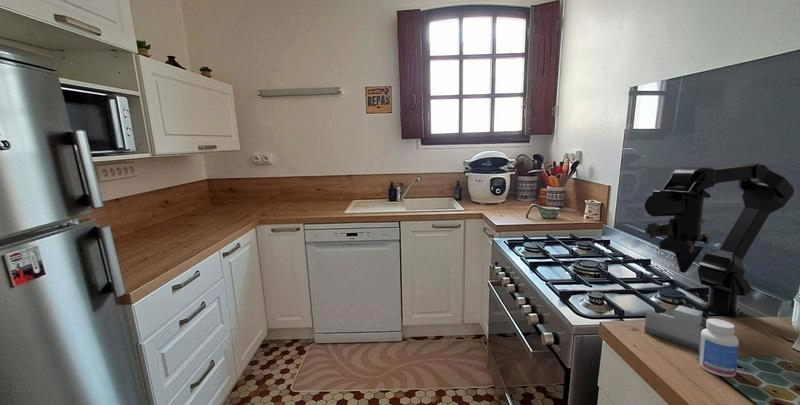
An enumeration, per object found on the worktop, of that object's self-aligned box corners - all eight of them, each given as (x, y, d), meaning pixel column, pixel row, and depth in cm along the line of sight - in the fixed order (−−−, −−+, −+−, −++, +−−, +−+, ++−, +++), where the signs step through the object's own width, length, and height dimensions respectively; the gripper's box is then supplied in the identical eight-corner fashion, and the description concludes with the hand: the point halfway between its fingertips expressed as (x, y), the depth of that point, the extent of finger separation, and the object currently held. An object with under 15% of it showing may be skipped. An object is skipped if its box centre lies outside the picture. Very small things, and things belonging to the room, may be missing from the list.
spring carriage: (664, 312, 85) (665, 301, 85) (701, 323, 79) (702, 311, 79) (659, 316, 83) (660, 305, 83) (696, 327, 77) (697, 315, 77)
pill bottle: (744, 379, 61) (748, 331, 60) (710, 376, 62) (715, 328, 61) (721, 362, 67) (725, 317, 66) (691, 359, 68) (695, 315, 67)
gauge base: (668, 313, 89) (670, 295, 88) (718, 327, 80) (720, 308, 80) (644, 332, 79) (645, 312, 78) (698, 350, 71) (700, 329, 70)
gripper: (662, 209, 97) (659, 259, 98) (637, 215, 86) (634, 271, 88) (713, 212, 87) (708, 268, 89) (691, 220, 77) (686, 283, 79)
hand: (683, 272), depth 86 cm, fingers closed
